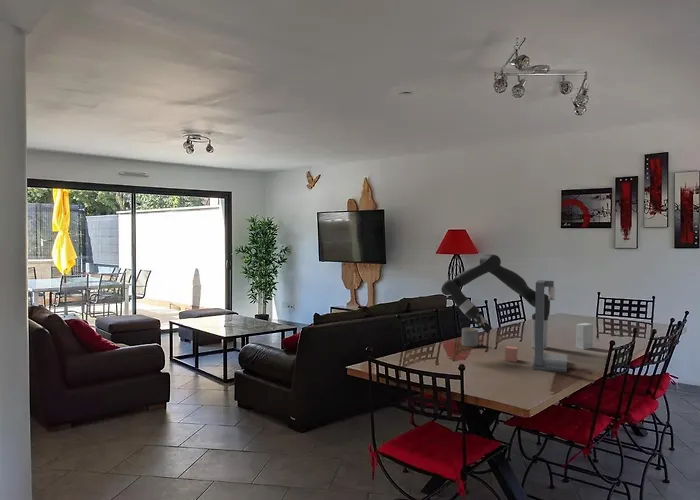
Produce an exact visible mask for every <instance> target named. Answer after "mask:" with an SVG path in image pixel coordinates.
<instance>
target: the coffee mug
mask: <svg viewBox="0 0 700 500" xmlns="http://www.w3.org/2000/svg"><path fill="white" fill-rule="evenodd" d="M461 345H462V346H463V347H472V348H473V347H478V346H479V328H476V327H463V328H461Z"/></svg>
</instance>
